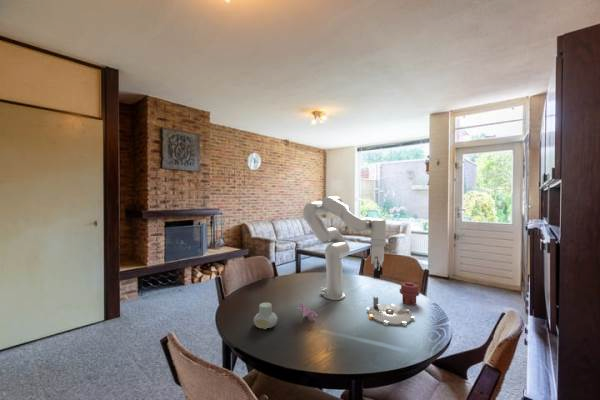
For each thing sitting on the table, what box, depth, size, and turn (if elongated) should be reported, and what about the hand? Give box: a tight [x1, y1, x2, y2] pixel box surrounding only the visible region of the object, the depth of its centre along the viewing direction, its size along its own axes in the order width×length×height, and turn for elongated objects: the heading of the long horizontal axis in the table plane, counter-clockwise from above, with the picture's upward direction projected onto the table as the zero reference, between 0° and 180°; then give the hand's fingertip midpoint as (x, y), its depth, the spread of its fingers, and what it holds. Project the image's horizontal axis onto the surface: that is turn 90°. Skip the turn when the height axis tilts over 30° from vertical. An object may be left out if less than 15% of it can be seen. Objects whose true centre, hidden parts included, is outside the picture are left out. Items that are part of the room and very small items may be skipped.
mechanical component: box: [399, 281, 420, 306], centre depth 151 cm, size 12×10×10 cm
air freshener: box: [253, 302, 278, 330], centre depth 127 cm, size 11×8×10 cm
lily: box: [297, 300, 319, 323], centre depth 132 cm, size 12×12×10 cm
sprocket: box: [366, 296, 415, 327], centre depth 135 cm, size 22×22×6 cm
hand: (378, 275), depth 146 cm, fingers open, 5 cm apart
